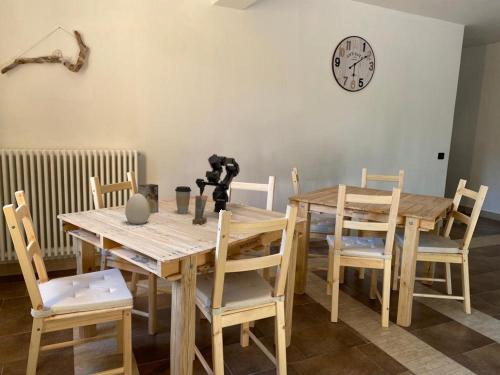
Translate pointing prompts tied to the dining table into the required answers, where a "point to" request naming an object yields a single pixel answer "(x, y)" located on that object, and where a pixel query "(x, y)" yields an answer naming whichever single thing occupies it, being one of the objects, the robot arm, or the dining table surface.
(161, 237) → the dining table surface
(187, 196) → the coffee cup
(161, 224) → the dining table surface
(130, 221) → the decorative egg
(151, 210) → the coffee box
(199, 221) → the stand
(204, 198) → the block
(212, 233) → the dining table surface
